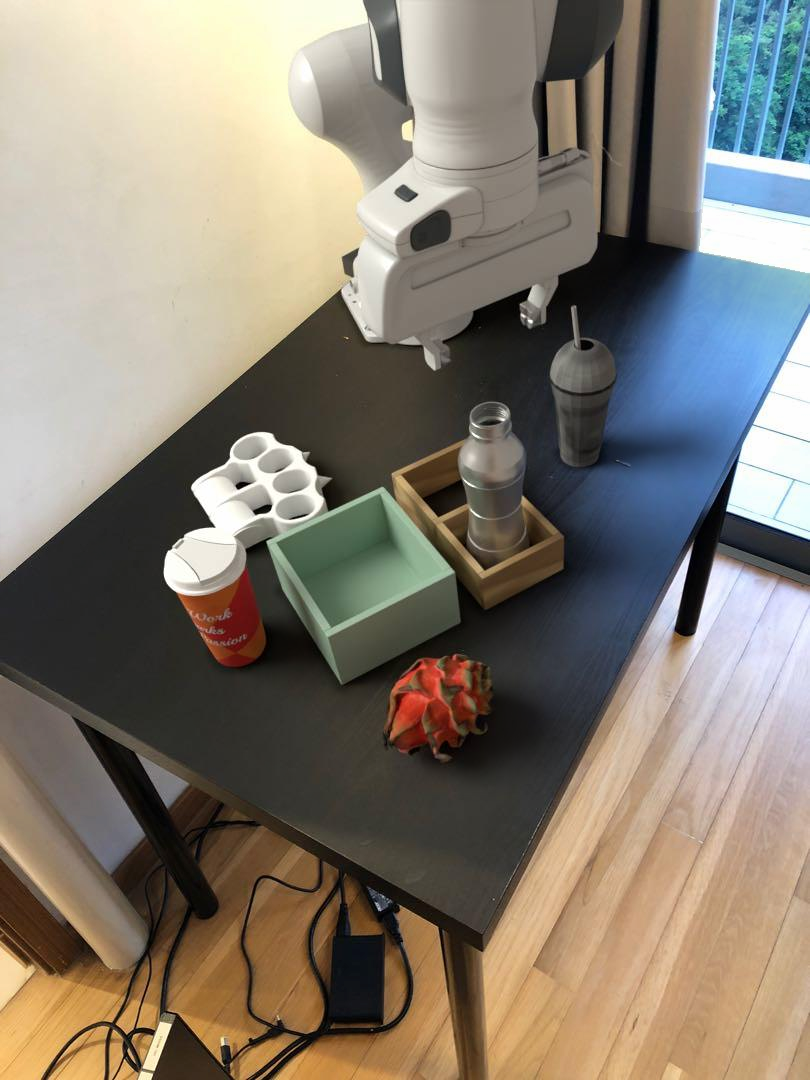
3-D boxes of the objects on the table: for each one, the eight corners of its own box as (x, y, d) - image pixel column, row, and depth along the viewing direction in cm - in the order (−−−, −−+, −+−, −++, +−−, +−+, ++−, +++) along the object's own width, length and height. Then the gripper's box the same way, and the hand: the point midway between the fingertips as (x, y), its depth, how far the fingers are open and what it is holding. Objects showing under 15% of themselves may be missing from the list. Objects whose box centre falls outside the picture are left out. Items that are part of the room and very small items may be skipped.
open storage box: (282, 589, 94) (265, 540, 89) (392, 536, 98) (383, 486, 92) (342, 685, 85) (327, 637, 79) (461, 622, 88) (455, 572, 83)
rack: (396, 505, 101) (391, 473, 97) (468, 470, 104) (465, 438, 100) (484, 610, 89) (482, 579, 85) (563, 569, 92) (564, 536, 88)
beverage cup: (610, 477, 100) (621, 327, 86) (545, 474, 102) (546, 327, 87) (612, 435, 105) (623, 287, 90) (550, 433, 106) (552, 287, 92)
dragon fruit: (504, 702, 83) (404, 781, 81) (451, 629, 84) (350, 706, 81) (529, 704, 75) (418, 793, 72) (470, 624, 75) (358, 709, 73)
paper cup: (187, 657, 89) (142, 567, 79) (236, 605, 93) (198, 513, 83) (244, 688, 86) (204, 598, 76) (292, 633, 90) (260, 540, 80)
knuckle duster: (186, 485, 108) (292, 437, 112) (243, 574, 96) (358, 517, 100) (178, 465, 105) (286, 416, 109) (235, 554, 94) (354, 496, 98)
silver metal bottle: (542, 564, 92) (542, 416, 78) (489, 593, 90) (478, 448, 76) (507, 529, 96) (500, 382, 82) (455, 556, 95) (439, 411, 80)
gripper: (568, 127, 68) (565, 285, 78) (335, 212, 63) (364, 370, 73) (620, 152, 64) (609, 315, 74) (375, 245, 59) (400, 408, 69)
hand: (486, 343), depth 73 cm, fingers open, 8 cm apart
